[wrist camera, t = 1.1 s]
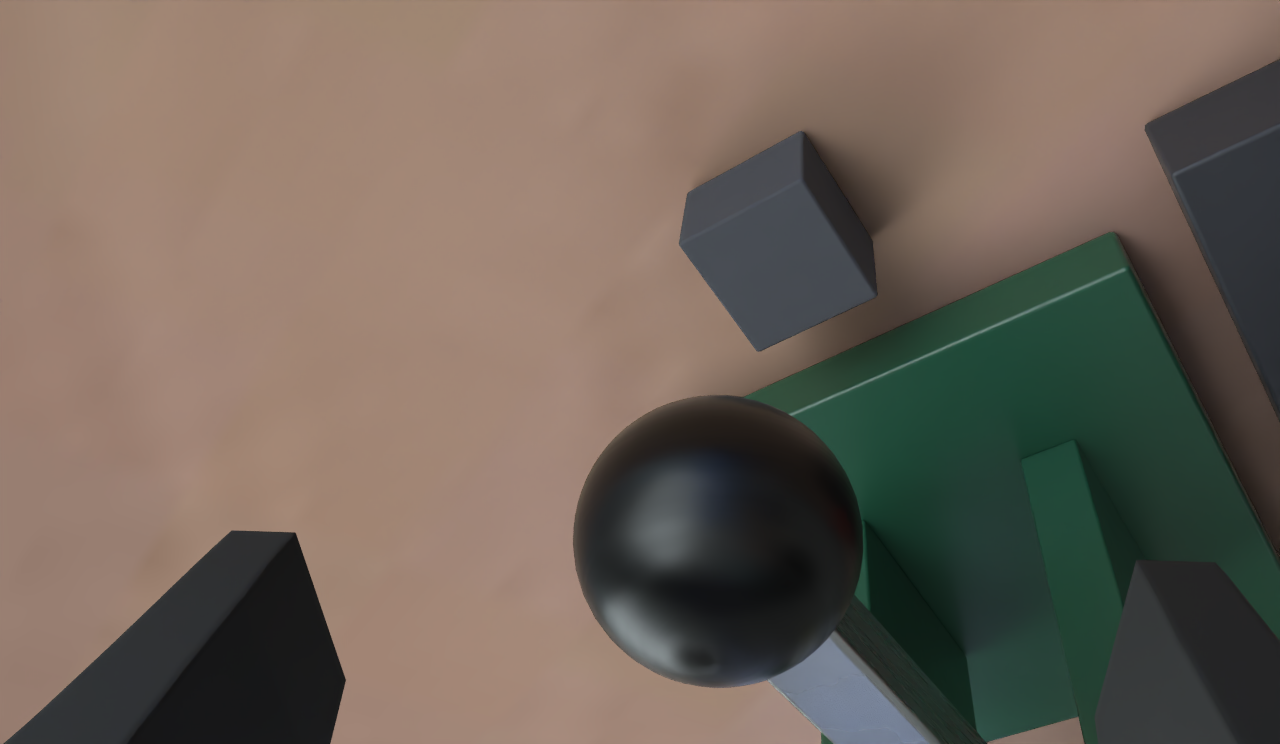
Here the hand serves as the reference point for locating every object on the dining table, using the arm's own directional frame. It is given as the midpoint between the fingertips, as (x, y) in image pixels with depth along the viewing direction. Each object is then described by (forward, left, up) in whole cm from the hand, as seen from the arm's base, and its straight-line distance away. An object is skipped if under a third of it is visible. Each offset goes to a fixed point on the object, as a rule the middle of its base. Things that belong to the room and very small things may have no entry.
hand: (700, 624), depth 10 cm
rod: (-5, 0, -4) cm, 6 cm away
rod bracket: (-10, 0, -10) cm, 14 cm away
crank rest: (-2, 0, -10) cm, 10 cm away
